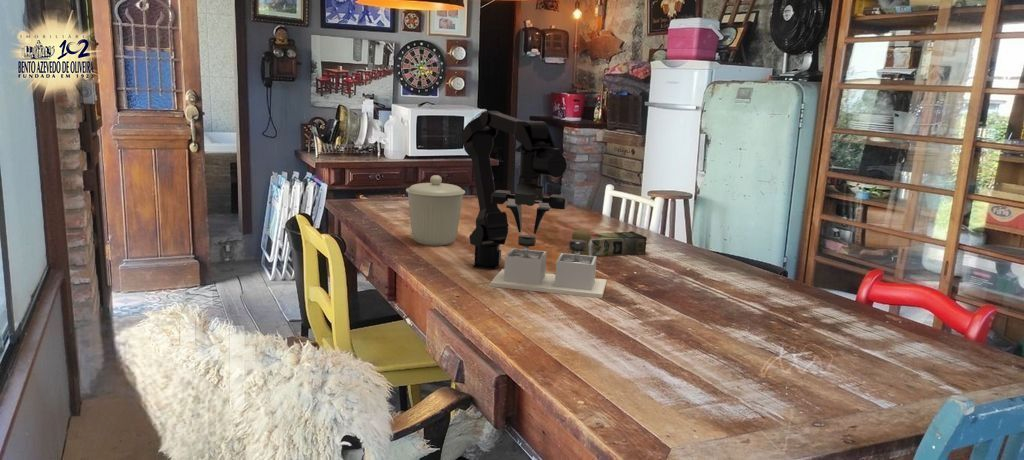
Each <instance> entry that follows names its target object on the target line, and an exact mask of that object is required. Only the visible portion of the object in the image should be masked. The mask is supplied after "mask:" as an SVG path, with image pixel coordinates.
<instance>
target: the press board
mask: <svg viewBox="0 0 1024 460" xmlns="http://www.w3.org/2000/svg"><path fill="white" fill-rule="evenodd" d="M519 252H524V248H523V249H521V248H511V249H510V250H509V251H508V252H507V253H506V255H504V266H503V267H504V268H502V269H501V270H500V271H499V272H498V273H497V274H496V275H495V277H493V279H492V280H491V281H490V288H491V287H493V288H501V289H502V288H504V289H512V290H522V291H530V292H540V293H548V294H549V293H550V294H559V295H570V296H576V297H577V296H578V297H588V298H596V299H603V297H604V293H605V289H606V286H607V280H608V279H605V278H596V271H597V258H598V256H587V255H579V257H580V258H585V259H588V260H590V264H585V263H575V262H565V261H563V259H564V258H567V257H575V254H571V253H566V252H565V253H564V252H563V253H562V252H560V255H558V258H557V259H556V261H555V274H554V273H546V269H547V253H548V252H547V251H543V250H535V249H534V250H533V249H529V253H535V254H538V255H539V259H534V258H523V257H513V254H514V253H519Z"/></svg>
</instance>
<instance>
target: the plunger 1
mask: <svg viewBox="0 0 1024 460" xmlns="http://www.w3.org/2000/svg"><path fill="white" fill-rule="evenodd" d="M536 239H537V237H536V236H535V235H531V234H519V235H518V241H517V242H518V243H517V244H518V245H519V246H521V247H523V249H524V252H519V253H514V254H513V257H523V258H534V259H539V255H538V254H535V253H529V250H530V247H535V246H536V244H537V243H536Z"/></svg>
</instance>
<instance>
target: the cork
mask: <svg viewBox="0 0 1024 460" xmlns="http://www.w3.org/2000/svg"><path fill="white" fill-rule="evenodd" d="M590 233H591V232H590V231H589V230H584V229H577V230H574V231H573V232H572V235H571V240H575V239H576V240H584V241H586V242H587V247H586V251H580V255H587V256H589V246H588V243H589V241H590V239H591V235H590ZM570 254H575V251H573V250H571V253H570Z"/></svg>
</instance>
